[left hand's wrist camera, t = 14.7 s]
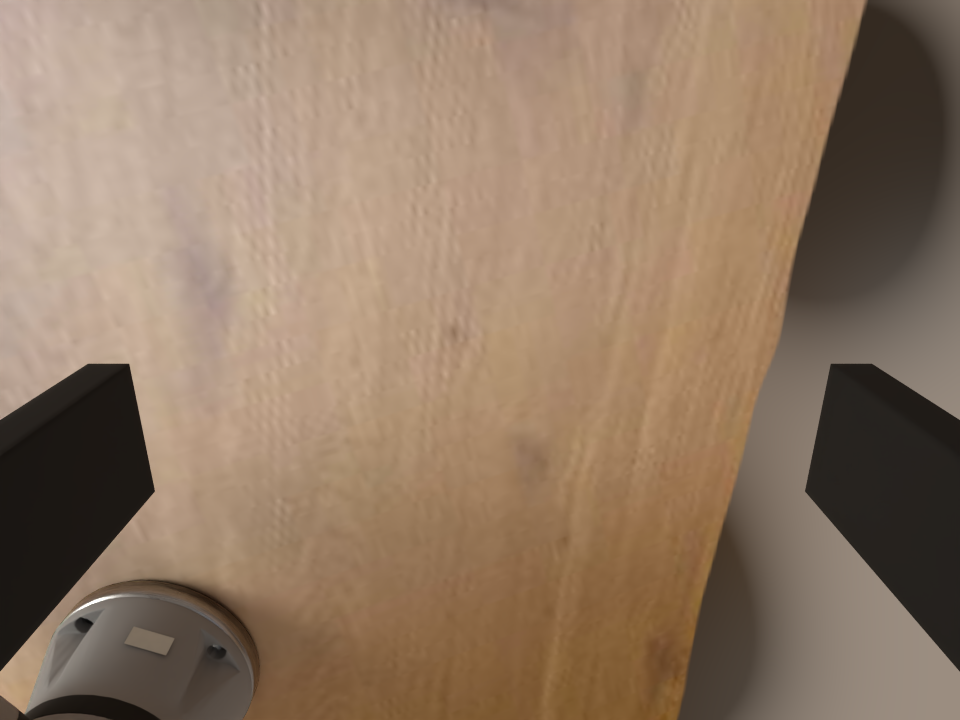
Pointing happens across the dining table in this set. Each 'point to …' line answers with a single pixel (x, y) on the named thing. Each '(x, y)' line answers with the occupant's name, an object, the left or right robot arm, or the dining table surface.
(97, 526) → the left robot arm
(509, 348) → the dining table surface
